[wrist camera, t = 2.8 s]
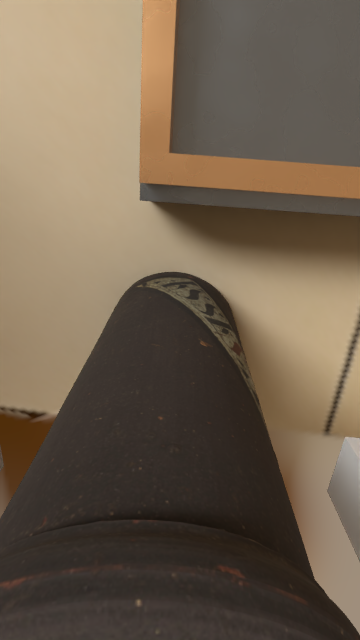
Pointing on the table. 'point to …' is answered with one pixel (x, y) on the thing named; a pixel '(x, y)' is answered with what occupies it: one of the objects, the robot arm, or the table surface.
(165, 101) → the framed panel with knob
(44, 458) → the container
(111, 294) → the table surface
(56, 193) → the table surface
